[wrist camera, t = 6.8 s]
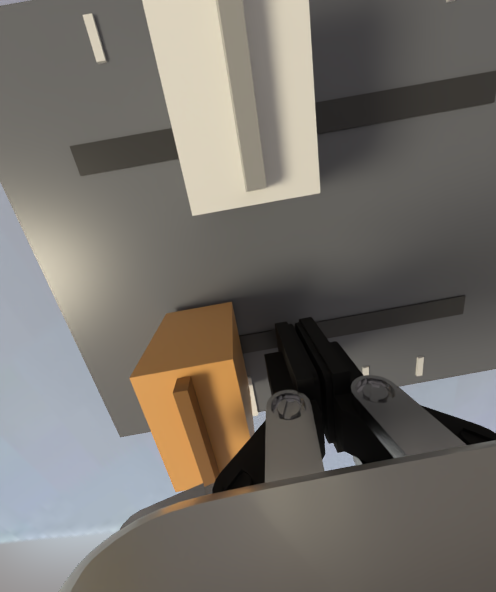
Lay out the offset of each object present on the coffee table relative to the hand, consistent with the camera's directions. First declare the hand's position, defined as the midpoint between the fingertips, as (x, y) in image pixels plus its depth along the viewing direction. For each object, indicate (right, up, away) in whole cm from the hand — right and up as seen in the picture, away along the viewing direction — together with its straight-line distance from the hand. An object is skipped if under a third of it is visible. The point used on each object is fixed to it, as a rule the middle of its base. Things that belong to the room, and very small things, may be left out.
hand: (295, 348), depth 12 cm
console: (0, +5, +2) cm, 6 cm away
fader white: (-3, +8, -2) cm, 9 cm away
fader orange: (-4, 0, +1) cm, 4 cm away
